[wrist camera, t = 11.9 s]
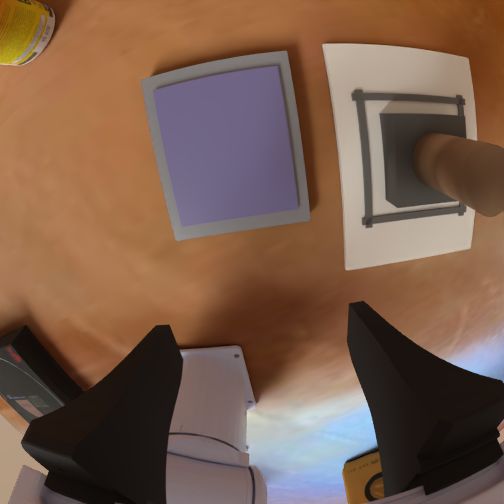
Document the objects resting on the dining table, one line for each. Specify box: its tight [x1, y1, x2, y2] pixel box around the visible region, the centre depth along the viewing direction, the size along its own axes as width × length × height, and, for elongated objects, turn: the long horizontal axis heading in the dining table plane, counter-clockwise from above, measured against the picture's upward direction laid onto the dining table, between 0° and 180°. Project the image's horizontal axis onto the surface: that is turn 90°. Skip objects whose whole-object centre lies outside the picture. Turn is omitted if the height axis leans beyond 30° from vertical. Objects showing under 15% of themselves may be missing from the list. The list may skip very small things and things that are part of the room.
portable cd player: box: [0, 325, 84, 424], centre depth 29 cm, size 16×17×4 cm
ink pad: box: [141, 51, 311, 241], centre depth 18 cm, size 11×9×2 cm
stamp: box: [379, 113, 504, 217], centre depth 14 cm, size 6×6×8 cm
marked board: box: [322, 44, 477, 271], centre depth 18 cm, size 16×12×1 cm
